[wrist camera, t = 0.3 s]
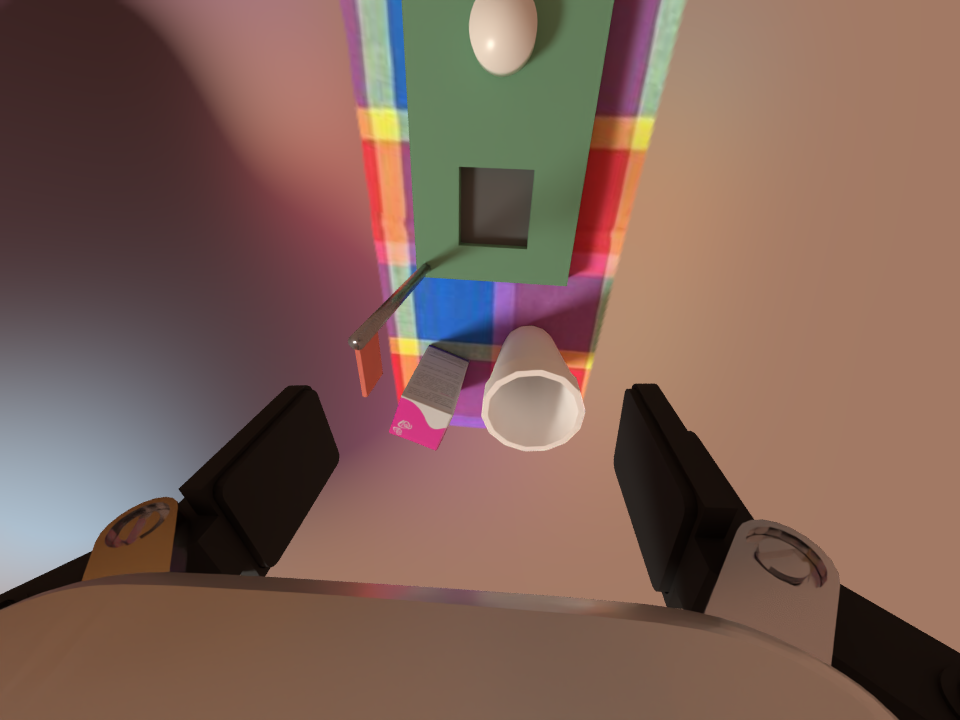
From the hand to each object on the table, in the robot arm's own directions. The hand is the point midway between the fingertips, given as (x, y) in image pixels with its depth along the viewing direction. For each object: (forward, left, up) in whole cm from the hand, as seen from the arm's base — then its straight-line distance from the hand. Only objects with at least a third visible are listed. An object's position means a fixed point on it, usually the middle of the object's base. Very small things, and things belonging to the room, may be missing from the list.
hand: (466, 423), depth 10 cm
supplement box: (+17, -7, -30) cm, 35 cm away
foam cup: (+13, +4, -30) cm, 33 cm away
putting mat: (-8, -1, -30) cm, 31 cm away
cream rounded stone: (-16, -1, -28) cm, 32 cm away
